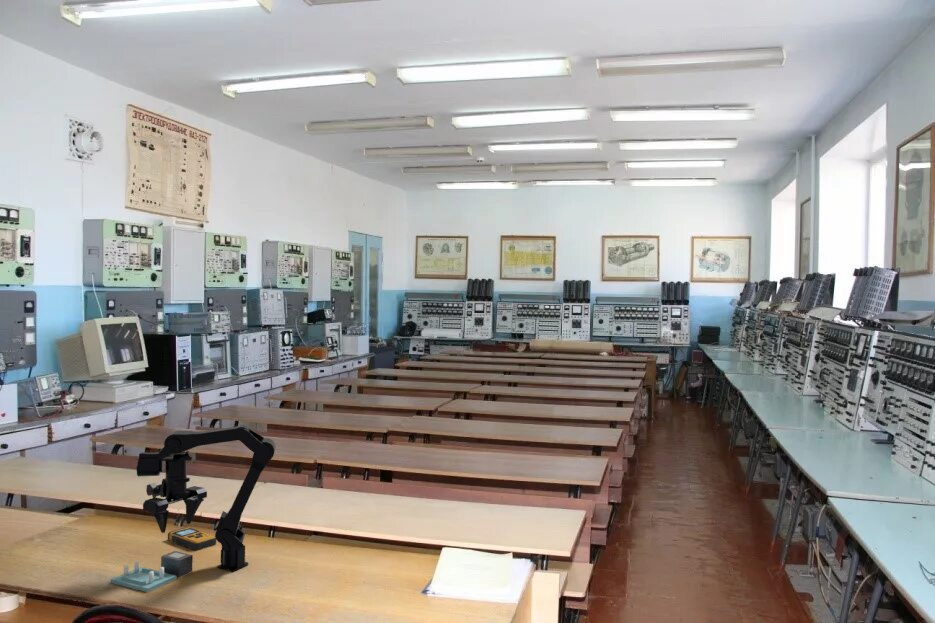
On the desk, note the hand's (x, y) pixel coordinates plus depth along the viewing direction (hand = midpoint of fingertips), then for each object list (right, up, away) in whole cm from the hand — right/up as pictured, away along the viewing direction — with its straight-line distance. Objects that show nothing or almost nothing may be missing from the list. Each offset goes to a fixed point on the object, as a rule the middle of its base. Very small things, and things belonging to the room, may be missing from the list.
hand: (175, 528), depth 212 cm
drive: (+1, -12, -2) cm, 12 cm away
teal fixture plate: (-5, -12, -9) cm, 16 cm away
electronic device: (-4, -12, +23) cm, 27 cm away
